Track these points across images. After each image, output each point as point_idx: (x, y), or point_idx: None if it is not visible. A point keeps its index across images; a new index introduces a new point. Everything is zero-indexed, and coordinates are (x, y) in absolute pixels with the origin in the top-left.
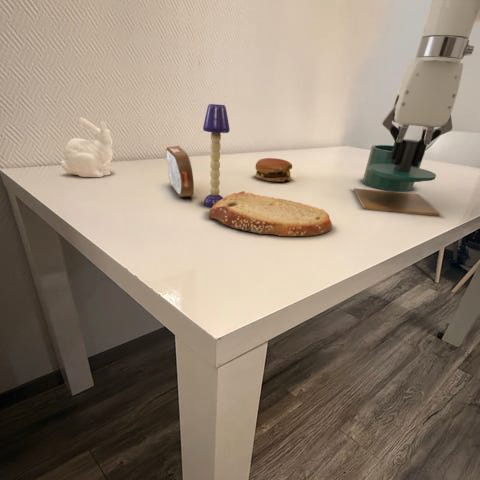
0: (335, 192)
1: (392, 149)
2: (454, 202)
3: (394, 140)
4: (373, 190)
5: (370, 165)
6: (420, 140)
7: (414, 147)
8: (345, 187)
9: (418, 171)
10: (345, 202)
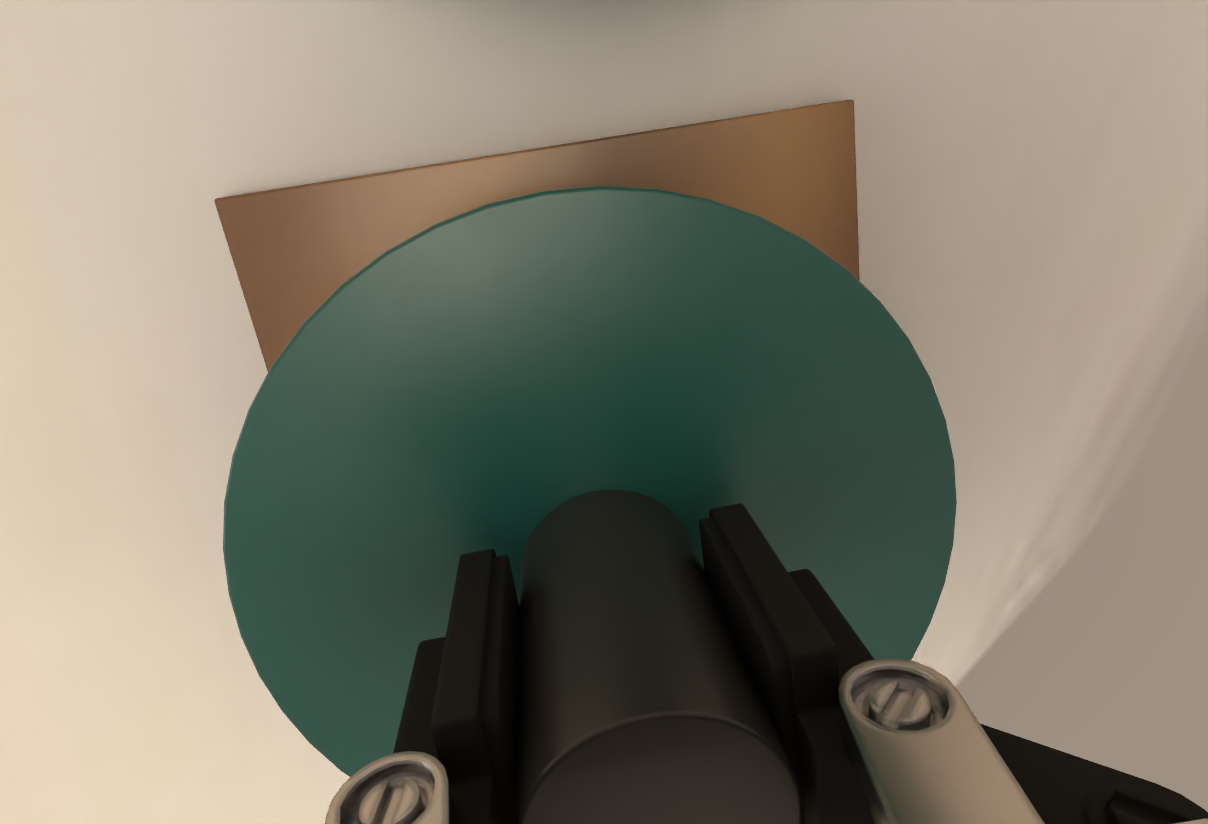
0: (73, 368)
1: (406, 708)
2: (1139, 155)
3: (370, 783)
4: (414, 186)
5: (231, 521)
6: (824, 787)
7: None
8: (109, 91)
9: (791, 520)
10: (231, 624)
